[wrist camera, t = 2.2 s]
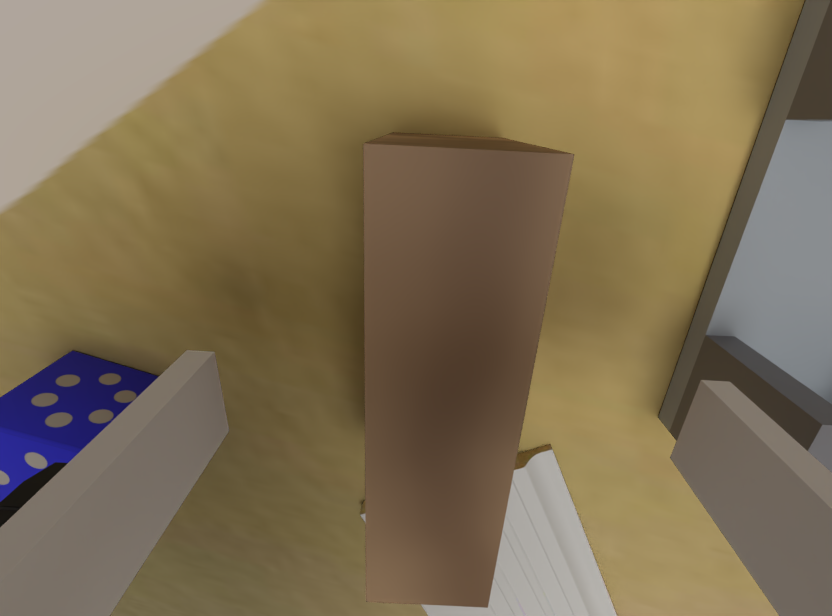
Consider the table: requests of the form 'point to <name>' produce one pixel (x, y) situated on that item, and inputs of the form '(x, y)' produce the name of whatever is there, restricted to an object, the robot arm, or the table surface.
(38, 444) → the die
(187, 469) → the robot arm
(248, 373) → the table surface
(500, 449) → the brown wooden block
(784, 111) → the end cap frame
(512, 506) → the baseboard molding
